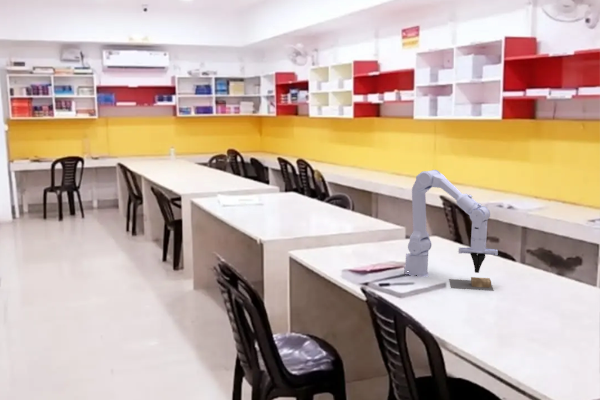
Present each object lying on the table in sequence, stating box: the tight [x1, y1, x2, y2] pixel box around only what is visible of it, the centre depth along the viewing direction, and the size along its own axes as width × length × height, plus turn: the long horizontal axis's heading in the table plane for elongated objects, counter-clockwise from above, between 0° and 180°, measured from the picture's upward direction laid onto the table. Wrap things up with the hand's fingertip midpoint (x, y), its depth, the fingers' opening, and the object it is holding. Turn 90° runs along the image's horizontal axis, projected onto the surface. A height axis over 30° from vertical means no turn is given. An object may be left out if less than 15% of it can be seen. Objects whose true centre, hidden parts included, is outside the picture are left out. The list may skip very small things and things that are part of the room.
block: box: [470, 276, 492, 288], centre depth 237 cm, size 2×5×7 cm
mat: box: [448, 278, 495, 292], centre depth 238 cm, size 16×13×1 cm
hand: (476, 272), depth 237 cm, fingers closed
